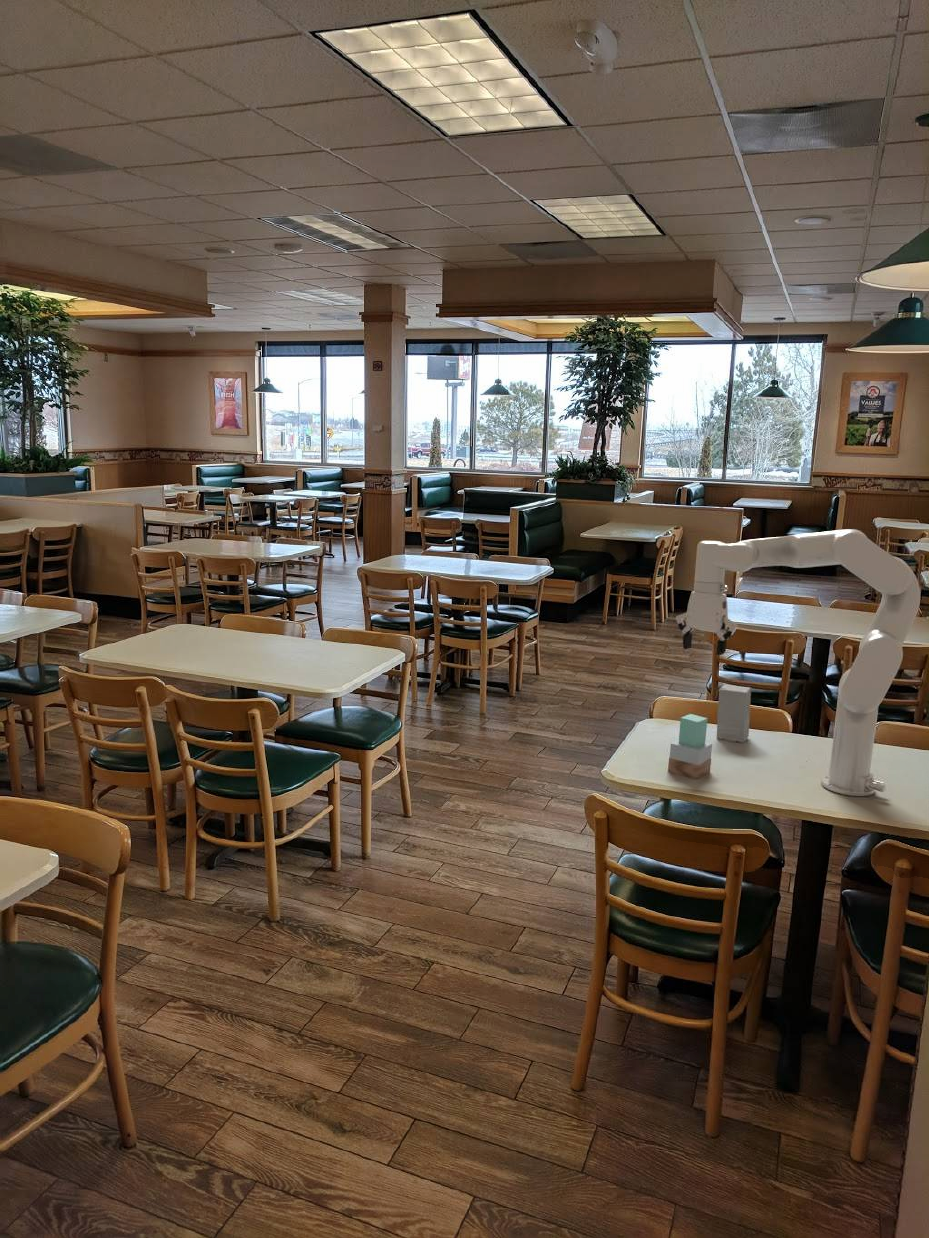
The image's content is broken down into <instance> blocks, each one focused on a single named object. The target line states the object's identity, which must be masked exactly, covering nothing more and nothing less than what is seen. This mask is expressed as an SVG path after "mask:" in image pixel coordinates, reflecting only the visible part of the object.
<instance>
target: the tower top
mask: <svg viewBox="0 0 929 1238" xmlns="http://www.w3.org/2000/svg"><path fill="white" fill-rule="evenodd" d="M669 748H670V749H669V750H670V751H669V757H670V758H672V759H675V760H679V761H683V762H687V763H691V764H694V765H700V764H701V763H703V762H705V761H707V760H708V759H712V752H713V751H712V750H713V743H711V742H707V741H705V744H704V745H701V746H699V747H697V748H694V747H690V746H687V745H684V744H680V743H679V739H676V740H675V741H673V742H671V743H670V747H669Z"/></svg>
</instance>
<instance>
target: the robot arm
mask: <svg viewBox="0 0 929 1238" xmlns="http://www.w3.org/2000/svg"><path fill="white" fill-rule="evenodd" d="M695 557H696V558H695V559H696V560H695V570H694V571H695V572H694V584H693V591H691V593H690V596H689V600H688V603H687V608H686V609H687V610H686V612H684V613H682V614H679V615H676V616H675V621H676V623H677V626H678V628H679V630H680V631H681V634H682V635H683V636H682V646H683V649H684V650H689V649H691V648H692V642H693V641H692V640H693V634H692V631H693V630H697V631H698V630H699V631H704V632H709V633H716V635H717V638H719V639H718V640H717V643H716V655H717V656H722V655H724V654H725V652H727V650H726V649H727V642H728V641H727V640H729V639H730V638H731V637H732V636H733V635H734V633H735V632H736V630H737V629H738V627H739V625H738V624H737V623H735V622H734V621H732V620H731V619H730V618H728V617H729V612H728V611H729V610H728V608H729V607H728V598H727V594H726V593H725V592H727V591H729V585H726V583H725V575H726V574H725V573H726V571H730V572H734V573H745V572H747V571H749V570H751V569H752V568H753V569H754V568H762V567H774V566H775V567H779V566H782V567H791V568H795V569H797V568H798V569H801V568H802V569H803V568H804V569H805V568H814V567H825V566H826V567H827V566H836V565H842V567H844V568H845V569H846V570H848V571H849V572H850V573H852V574H853V575H855V576H856V577H857V578H859V579H861V580H862V581H863V582H865V583H866V584H867V585H869V586H870V587H871V588H873V589H874V590H875V591H878V592H879V593H881V600H880V604H879V605H878V608H877V610H876V612H875V614H874V616H873V619H872V621H871V622H870V625H869V627H868V629H867V630H866V632H865V634H864V636H863V637H862V639H861V640H860V643H859V647H858V653H857V655H856V656H855V659H854V661H853V662H852V665H851V667H850V668H849V669H847V670H846V671H845V672H844V673H843V674H842V675H841V678H840V679H839V684H838V693H837V703H836V712H835V713H836V714H835V719H834V729H833V736H832V738H833V739H832V744H831V745H832V746H831V753H830V762H829V767H828V768H829V769H828V775H824V776H823V777H822V778H821V782H820V784H821V785H822V786H823V787H824V788H825V789H826V790H829V791H831V792H834V793H837V794H841V795H844V796H851V797H868V796H871V795H873V794H874V793H875V791H877V792H880V793H884V792H886V784H885V782H883V781H880V780H875V778H874V773H872V772H871V766H872V758H873V753H874V752H873V750H874V742H875V735H876V730H877V729H876V728H877V723H878V721H877V720H878V713H879V706H880V704H881V703H882V702H883V700H884V698H885V696H886V694H887V692H888V690H889V688H890V687H891V685H892V683H893V680H895V677H896V676H897V673H898V671H899V669H900V667H901V664H902V662H903V658H904V657H903V655H904V652H903V651H904V650H903V645H904V642H905V641H906V638H907V636H908V634H909V632H910V630H911V628H912V625H913V624H914V621H915V619H916V617H917V614H918V612H919V609H920V605H921V588H920V584H919V580H918V578H917V576H916V574H915V573H914V570H912V568H911V567H910V566H909V564H908V563H907V562H906V561H904V560H903V559H902V558H900V557H897V556H893V555H892V554H890V553H889V552H887V551H886V550H885V549H883V548H881V547H880V546H879V545H877V544H876V543H875V542H873V541H872V540H870V539H869V538H868V537H867V535H866V534H865V533H864V532H862V531H861V530H859V529H853V528H852V529H851V528H850V529H849V528H848V529H837V530H827V531H821V532H809V533H808V532H807V533H797V534H790V535H786V536H785V535H784V536H776V537H764V538H755V539H754V538H753V539H746V540H745V539H744V540H741V541H736V542H735V543H725V542H724V541H720V540H719V541H718V540H701V541H699V542H698V544H697V547H696V556H695ZM684 619H685V622H684ZM728 628H729V629H728ZM727 629H728V630H727ZM726 630H727V631H726Z"/></svg>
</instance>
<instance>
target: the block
mask: <svg viewBox="0 0 929 1238" xmlns="http://www.w3.org/2000/svg"><path fill="white" fill-rule="evenodd" d="M708 720H709V719H708V717H703V716H700V715H696V714H691V713H689V714H686V715H684V716H681V717H680V722H679V732H678V733H679V734H678V740H679V743H680V744H684V745H687V746H690V747H694V748H697V747H699V746H701V745H704V744H705V742H706V738H707V728H708Z"/></svg>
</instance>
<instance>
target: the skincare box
mask: <svg viewBox="0 0 929 1238" xmlns="http://www.w3.org/2000/svg"><path fill="white" fill-rule="evenodd" d="M751 696H752V687H749V686H739V685H738V686H737V685H733V684H731V685H730V684H723V685H722V686H721V687H720V688H718V702H717V703H718V705H717V725H716V739H717V738H719V739H718V740H723V739H724V741H728V742H729V741H730V742H736V741H738V742H737V743H743V744H744V742H745V741H746V740H747V739H748V738H749V733H750V720H751V719H750V717H751V716H750V715H751Z"/></svg>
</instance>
